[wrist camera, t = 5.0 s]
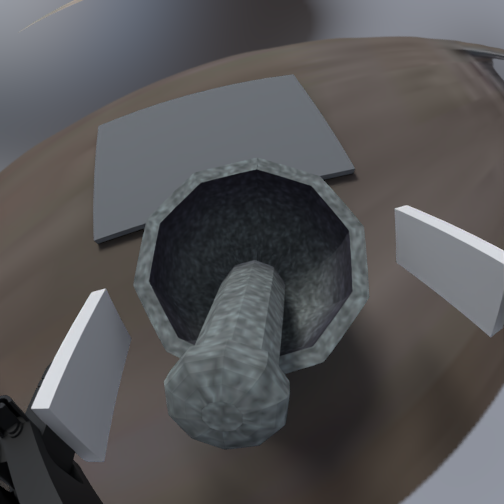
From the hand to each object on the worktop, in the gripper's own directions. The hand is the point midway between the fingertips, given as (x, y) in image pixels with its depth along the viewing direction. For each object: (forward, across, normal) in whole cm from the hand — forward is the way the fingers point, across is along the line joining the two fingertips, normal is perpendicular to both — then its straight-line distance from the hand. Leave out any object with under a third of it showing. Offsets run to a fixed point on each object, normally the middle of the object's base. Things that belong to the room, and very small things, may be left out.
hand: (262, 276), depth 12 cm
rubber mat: (+14, -1, +6) cm, 15 cm away
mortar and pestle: (+4, 0, -4) cm, 6 cm away
